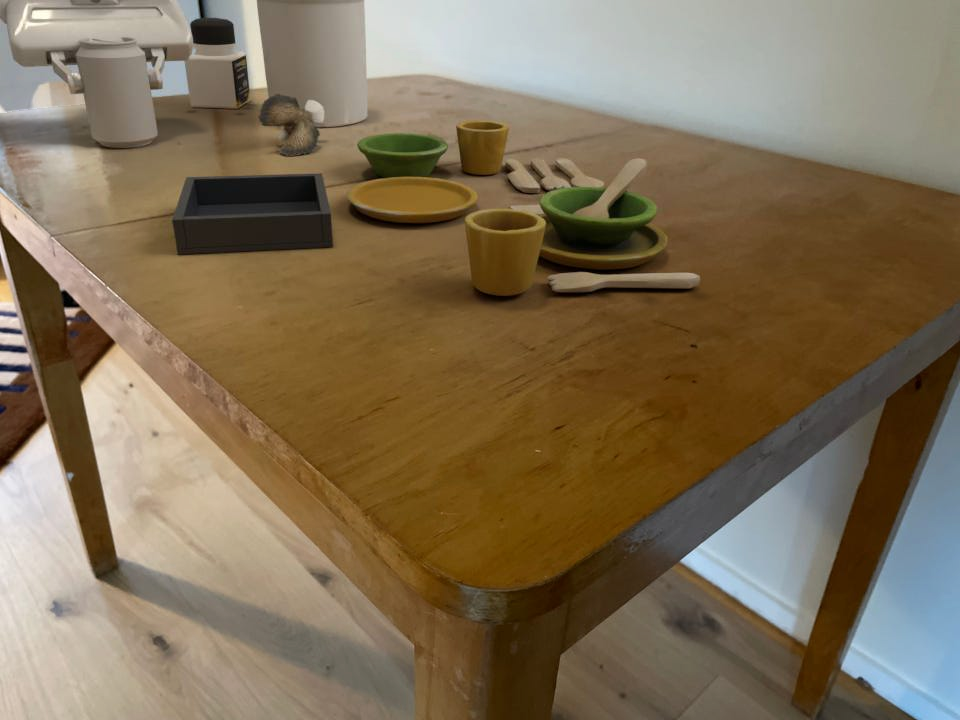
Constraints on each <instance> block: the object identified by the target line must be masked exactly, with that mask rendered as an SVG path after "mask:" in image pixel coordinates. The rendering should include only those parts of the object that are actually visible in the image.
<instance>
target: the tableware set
mask: <svg viewBox="0 0 960 720" xmlns="http://www.w3.org/2000/svg"><path fill="white" fill-rule="evenodd" d="M455 129H456V138H457V145H458V151H459V159H460V167H461V170H462V171H464V172H465V173H466V174H467V173H468V174H471V175H476V176H489V175H490V176H491V175H494V174H495V175H496V174H498V173H499V172H500V171H501V170H502V166H503V161H504V157H505V156H504V155H505V150H506V145H507V142H508V137H509V131H510V126H509V125H508V124H507V123H504V122H501V121H495V120H465V121H460V122H458V123H456V126H455ZM356 146H357V149H358V150H359V152H361V154H363V155H364V156H365V158H366V160H367V161H368V163H369V164H370V165H369V166H371V168H372V169H373V171H374V173H375V174H377V176H379V177H381V178H376V179H371V180H367V181H363V182H361V183H357V184H355V185H354V186H353V185H352V187H350V188H349V189H348V190H347V192H346V195H345V196H346V199H347V201H348V202H349V203H350V204H351V206H352V207H355V209H356V210H357V211H358V212H360V213H361V214H363V215H365V216H366V217H367V216H368V217H370V218H373V219H376V220H380V221H384V222H391V223H400V224H429V223H438V222H445V221H449V220H452V219H455V218H458V217H461V216H462V215H464V214H466V213H467V212H468V211H469V210H470V209H471V208H472V207H474V205H475V204H476V203H477V201H478V200H479V195H478V193H477V192H476V190H475V189H473V188H471V187H470V186H468V185H465V184H463V183H460V182H457V181H453V180H449V179H444V178H437V177H429V176H430V174H431V173H432V172H433V170H434V169H435V168H436V165H437V164H438V162H439V160H440V159H441V157H442V156H443V155H444V154H446V152H447V151H448V149H449V144H448V142H446V141H445V140H443V139H442V138H438V137H435V136H431V135H425V134H418V133H403V132H402V133H400V132H399V133H397V132H395V133H394V132H393V133H382V134H375V135H370V136H366V137H363V138H362V139H360V140H358V142H357V143H356ZM554 163H556V164H557V165H558V166H557V165H556V164H555V167H556V168H557V169H558V170H560V171H561V172H563V174H565V175H566V176H567V177H569V178H570V181H569V182H568V180H566V179H564V178H561V177H558V176H556V175H555V174H554V173H553V171H552V170H551V168H550V167H549V165H548V163H547V162H546V160H544V159H543V158H531V159H530V166H531V168H533V169H534V170H535V172H536V173H537V174H538V175H539V176H540V177H541V180H540V182H539V183H538V182H537V180H536V179H534V177H533V176H532V175H531V174H530V173H529V172H528V170H527V169H526V168H525V167H524V166H523V165H522V164H521V162H520V161H518V160H517V159H512V158H508V159H506V160H505V167H506V168H507V169H508V170H509V171H510V172H509V173H508V174H507V175H506V176H507V179H508V180H509V181H510V183H511V184H512V186H514V187H515V188H516V189H517V190H519V191H520V192H522V193H524V194H525V193H526V194H539V193H540V192H541V188H542V189H544V190H546V191H548V192H545V194H543V195H541V197H540V199H539V204H518V205H514V204H513V205H510V206H509V208H487V209H486V208H485V209H480V210H477V211H473V212H471V213H469V214H467V215H466V216H465V217H464V227H465V237H466V243H467V251H468V259H469V260H468V261H469V267H470V268H469V269H470V276H471V283H472V286H473V287H474V288H475V289H476V290H478V291H480V292H482V293H484V294H488V295H492V296H497V297H511V296H517V295H520V294H523V293H525V292H527V291H529V290H530V288H531V286H532V285H533V281H534V277H535V275H536V270H537V265H538V260H539V258H543V259H545V260H547V261H550V262H553V263H555V264H559V265H562V266H566V267H571V268H572V267H573V268H578V269H579V268H580V269H587V270H601V271H602V270H605V271H607V270H609V271H610V270H611V271H612V270H624V269H629V268H634V267H638V266H641V265H643V264H646V263H648V262H650V261H651V260H652V259H653V258H654V257H656V256H658V255H659V254H660V253H661V252H662V251H664V249H665V248H666V247H667V245H668V236H667V235H666V233H664V232H663V231H662V230H661V229H660V228H658V227H657V226H655V225H654V224H652V223H650V222H652V221H653V220H654V218H655V217H656V216H657V214H658V211H659V208H658V206H657V205H656V204H655V202H653V201H652V200H651V199H649V198H647V197H644V195H640V194H638V193H634V192H631V191H628V190H629V189H630V187H631V186H632V185H633V184H634V183H635V182H637V181H638V180H639V179H640V178H641V176H643V175H644V173H645V172H646V170H647V166H648V165H647V160H645V159H644V158H640V157H639V158H638V157H637V158H631V159H630V160H628V161H627V162H626V164H624V166H623V167H622V168H621V170H620V171H619V172H618V174H617V175H616V176H615V178H614V179H613V180H612V181H611V182H610V184H609V185H608V187H604V186H605V183H604V181H603V180H601V179H599V178H595V177H591V176H589V175H588V176H587V175H585V173H583V172H582V171H581V170H580V168H579V167H578V166H577V165H575V163H574V162H573V161H572V160H571V159H570V158H569V159H568V158H563V157H562V158H556V159H555V161H554ZM531 164H532V165H531ZM561 168H562V169H563V170H562V169H561ZM565 171H566V172H567V173H566V172H565ZM546 280H547V282H549V286H551V290H552V291H553V292H555V293H590V292H591V293H592V292H594V291H597V290H600V289H605V288H606V289H607V288H619V289H621V288H624V289H625V288H626V289H627V288H628V289H630V288H631V289H632V288H633V289H636V288H637V289H692V288H695V287H697V286H699V285H700V281H701V276H700V275H698V274H696V273H694V272H657V273H656V272H654V273H620V274H598V273H592V272H588V271H576V272H575V271H574V272H562V273H557V274H556V273H555V274H550V275H547V278H546Z"/></svg>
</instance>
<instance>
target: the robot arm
mask: <svg viewBox="0 0 960 720" xmlns="http://www.w3.org/2000/svg"><path fill="white" fill-rule="evenodd" d="M0 20H1V21H2V22H3V23H4V24H5V25H6V29H7V36H8V41H9V47H10V51H11V55H12V59H13V61H14V62H16V63H17V64H18V65H20V66H21V67H23V68H33V67H35V68H37V67H52V70H53V73H54V74H55V75H56V76H58V77H59V78H60V79H61V80H62V81H63V82H64V83H66V84H67V87H68V89H69V94H70V95H80V94H81V95H82V94H83V93H84V85H83V81H82V80H81V76H80V73H79V72H73V71H71V69H69V68H68V67H67V66H78V65H77V60H76V53H77V52H78V50H79V49H80V47H81V43H80V42H79V40H80V39H83V38H90V40H89V42H99V41H94V40H92V38H93V39H99V40H105V41H111V42H125V41H124V40H123V39H122V38H121V37H130V38H135V39H137V42H136V45H137V46H138V47H139V48H140V49H141V50H143V51H144V52H145V57H146V63H150V65H151V67H152V68H153V69H147V70H148V76H149V83H150V89H151V91H154V90H156V91H158V90H163V89H164V88H163V87H164V85H163V84H164V82H163V77H162V73H163V71H164V69H165V63H166V62H185V61H186V60H188V59H189V57H190V55H191V54H193V50H194V48H193V36H192V33H191V27H190V24H189V22H188V19H187V18H186V15H185V12H184V10H183V9H182V7H181V5H180V3H179V2H178V0H0ZM83 95H84V94H83Z"/></svg>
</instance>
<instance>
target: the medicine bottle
mask: <svg viewBox="0 0 960 720" xmlns="http://www.w3.org/2000/svg"><path fill="white" fill-rule="evenodd" d="M189 27H190V30H191V33H192V36H193V50H195V52H194V53H193V52H192V54H191V55H190V57H189V59H188V60H186V61H184V69H185V75H186V83H187V89H188V97H189V105H190V107H191V108H197V109H199V108H203V109H226V110H227V109H229V110H238V109H240V108H241V107H242V106H244V105H245V104H247V103H248V102H250V101H251V90H250V81H249V73H248V72H249V71H248V62H247V53H245V52H244V51H236V49H237V44H236V36H235V24H234V23H233V22H232V21H231V20H229V19H227V18H220V17H200V18H199V17H198V18H195V19H194V20H191V22H190V24H189Z"/></svg>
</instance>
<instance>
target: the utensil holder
mask: <svg viewBox="0 0 960 720" xmlns="http://www.w3.org/2000/svg"><path fill="white" fill-rule="evenodd" d="M256 7H257V16H258V17H257V18H258V24H259V34H260V41H261V48H262V49H261V50H262V57H263V66H264V75H265V81H266V88H267V96H268V98H270V96H272V95H274V96H275V94H280V95H284V96H289V97H295V98H296V100H297V101H298V104H299V106H300V109H301V111H302V110H303V109H304V107H305V104H306V102H307V101H308V100H314V101H316V102H318V103H320V104H321V105H322V106H323V109H324V112H325V114H324V121H323V123H320V124H318V123H313V125H314V126H315V128H334V127H335V128H337V127H342V126H349V125H354V124H357V123H361V122H363V121H364V120H366V119H367V117H368V74H367V73H368V70H367V42H366V41H367V39H366V37H367V36H366V12H365V11H366V9H365V0H256ZM311 123H312V122H311Z"/></svg>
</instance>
